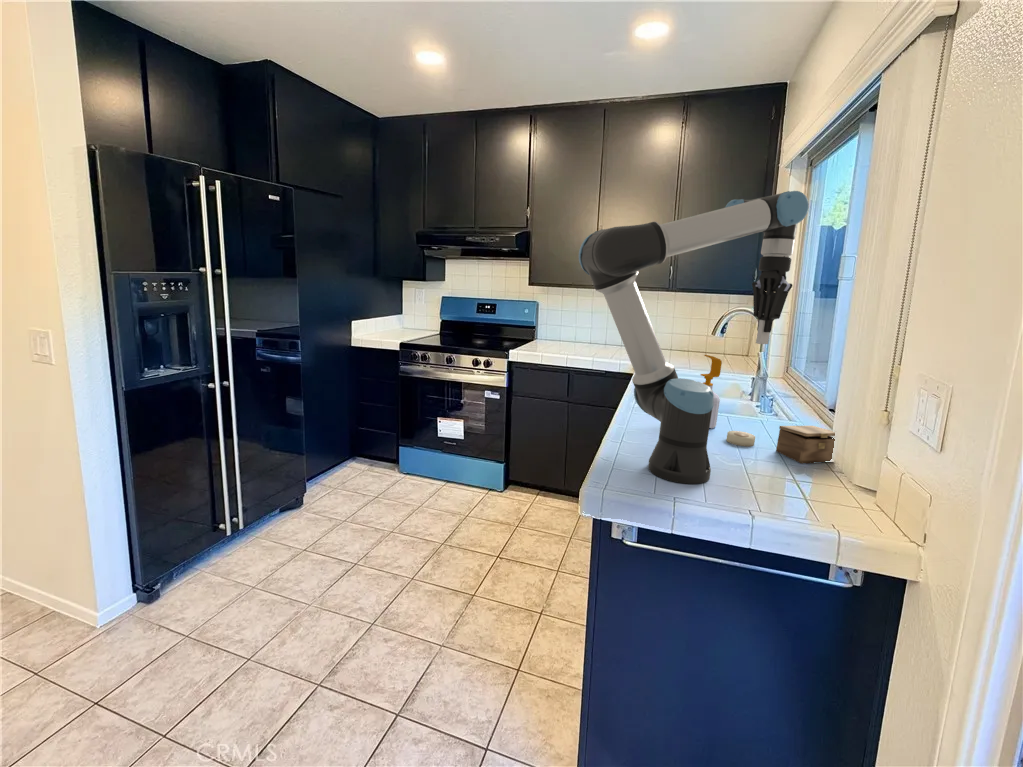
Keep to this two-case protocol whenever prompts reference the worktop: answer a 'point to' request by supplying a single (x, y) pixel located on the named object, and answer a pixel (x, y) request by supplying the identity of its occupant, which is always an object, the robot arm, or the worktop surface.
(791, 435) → the chest
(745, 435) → the domed cap
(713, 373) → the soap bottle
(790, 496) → the worktop surface
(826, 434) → the lid
